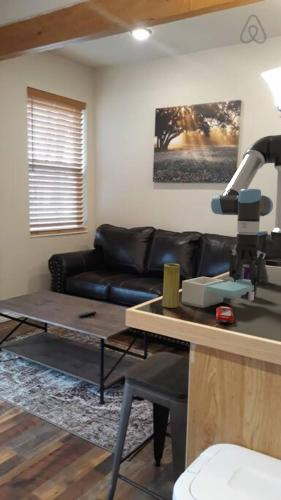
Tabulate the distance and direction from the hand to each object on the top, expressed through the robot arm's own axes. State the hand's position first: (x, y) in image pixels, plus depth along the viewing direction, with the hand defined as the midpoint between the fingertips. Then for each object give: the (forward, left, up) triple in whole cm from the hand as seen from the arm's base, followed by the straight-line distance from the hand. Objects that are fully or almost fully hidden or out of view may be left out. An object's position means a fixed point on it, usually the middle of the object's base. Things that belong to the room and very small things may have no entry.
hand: (244, 298), depth 145 cm
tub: (+10, -11, -2) cm, 15 cm away
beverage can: (-11, -5, -2) cm, 12 cm away
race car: (+22, +5, -2) cm, 22 cm away
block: (+7, 0, +3) cm, 8 cm away
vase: (+22, -16, -2) cm, 27 cm away
